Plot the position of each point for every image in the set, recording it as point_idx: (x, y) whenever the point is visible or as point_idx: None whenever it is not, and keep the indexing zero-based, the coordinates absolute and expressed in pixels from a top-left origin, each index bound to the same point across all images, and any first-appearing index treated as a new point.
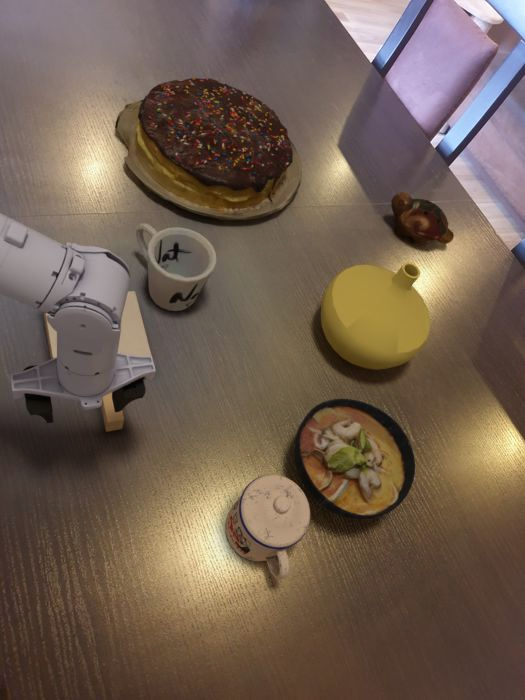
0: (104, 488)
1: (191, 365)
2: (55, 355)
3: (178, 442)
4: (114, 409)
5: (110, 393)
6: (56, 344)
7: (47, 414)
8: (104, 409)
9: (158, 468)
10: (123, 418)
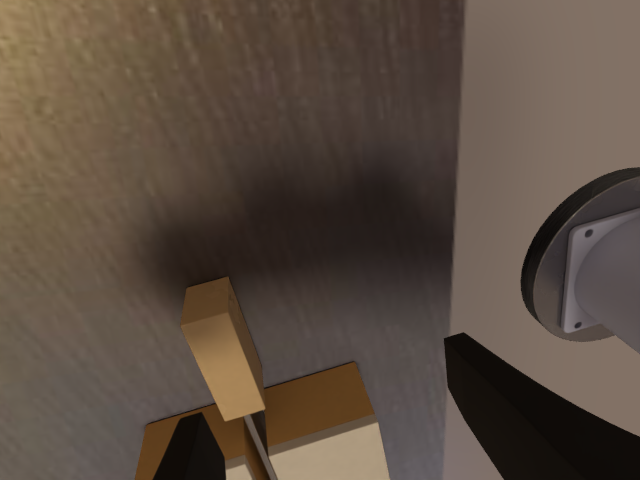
0: (209, 119)
1: (31, 459)
2: (376, 448)
3: (6, 269)
4: (206, 422)
5: (230, 383)
6: (374, 469)
7: (574, 438)
8: (241, 341)
9: (50, 187)
10: (182, 328)
